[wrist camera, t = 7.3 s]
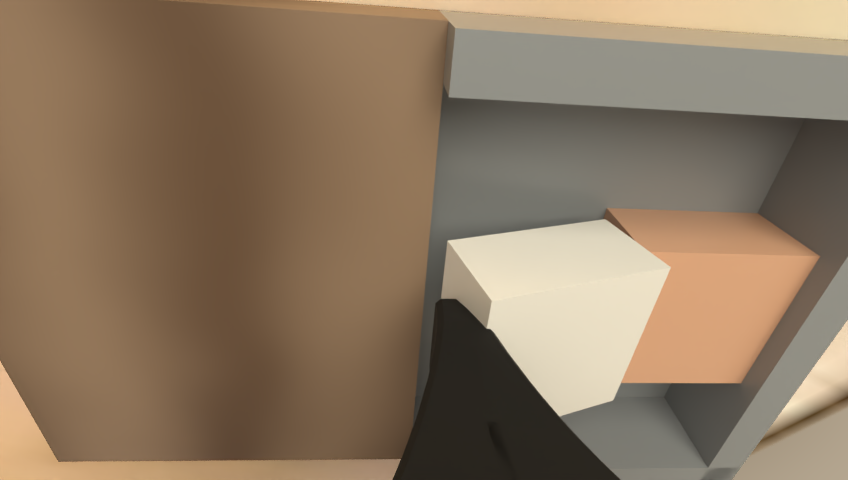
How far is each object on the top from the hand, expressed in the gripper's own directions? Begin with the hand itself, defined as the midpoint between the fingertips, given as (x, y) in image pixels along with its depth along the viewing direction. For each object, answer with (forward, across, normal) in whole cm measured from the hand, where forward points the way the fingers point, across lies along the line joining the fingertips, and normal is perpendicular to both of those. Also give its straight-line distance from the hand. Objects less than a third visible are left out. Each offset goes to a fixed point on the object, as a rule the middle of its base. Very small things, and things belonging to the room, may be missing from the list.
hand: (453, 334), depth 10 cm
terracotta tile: (+2, -6, 0) cm, 6 cm away
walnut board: (+3, +6, 0) cm, 6 cm away
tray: (+3, -4, 0) cm, 5 cm away
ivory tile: (+1, -2, 0) cm, 2 cm away
